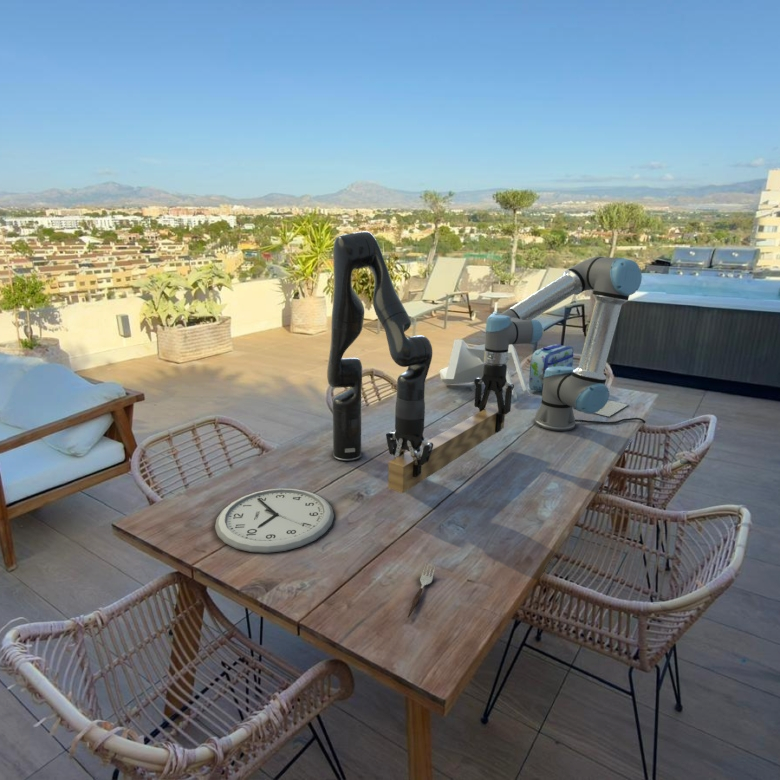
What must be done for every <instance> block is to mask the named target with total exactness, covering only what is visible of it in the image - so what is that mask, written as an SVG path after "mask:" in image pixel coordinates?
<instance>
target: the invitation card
mask: <svg viewBox="0 0 780 780" xmlns="http://www.w3.org/2000/svg"><path fill="white" fill-rule="evenodd" d="M628 406H629V404H627V403H623V402H618V401H614V400H609V399H608V401H607V403H606V405H605V406H604V407H603V408H602V409H600V410H599V411H598V412H596V413H595V414H596V415H600V416H604V417H608V418H609V417H611V416H613V415H614V414H616V413H617V412H619V411H621V410H623V409H624V408H626V407H628Z"/></svg>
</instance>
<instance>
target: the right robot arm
mask: <svg viewBox="0 0 780 780" xmlns="http://www.w3.org/2000/svg"><path fill="white" fill-rule="evenodd" d="M642 274H643V273H642V269H641V268H640V266H639V264H638V262H636V261H634V260H633V259H630V258H629V259H628V258H624V257H608V256H594V257H591V258H588V259H585V260H582V261H580V262H579V263H577V264H575V265H573V266H572V267H570V268H568V269H567V270H565V271H564V272H563V273H562V276H560V277H559V278H557V279H556V280H554V281H552V282H550V283H549V284H547V285H546V286H544V287H542V288H541V289H539V290H537V291H535V292H534V293H533V294H531V295H530V296H528V297H526V298H525V299H523V300H521V301H519V302H518V303H516V304H515V305H513V306H511V307H510V308H508V309H507V310H505V311H503V312H496V313H493V312H492V313H491V314H490V315H489V316H488V317H487V319H486V325H485V337H484V339H485V340H484V344H485V353H484V362H485V363H484V367H483V376H482V378H477V379H475V380H474V381H475V383H474V386H475V390H474V403H473V404H474V405H473V406H474V407H475V408H478V410H479V411H478V413H479V412H481V411H482V410H484V409H486V408H487V404H488V401H489V398H490V394H491V392H492V391H493V392H494V395H495V399H496V405H497V406H498V411H499V413H498V414H496V427H495V432H496V433H495V434H498V433H499V432H501V431H502V429H501V423H503V422H504V423H505V420H504V414H505V415H507V414H509V413H511V409H512V397H513V395H512V390H513V388H515V385H514V383H513V384H509V383H508V382H507V380H506V372H507V365H508V361H509V360H508V348H509V345H510V344H512V345H521V344H523V345H524V344H529V345H530V344H534V343H538V342H540V341H541V339H542V337H543V335H544V333H543V332H544V328H543V327H544V326H543V325H542V323H541V322H540V321H539V320H536V319H535V318H537V317H538V316H540V315H542V314H544V313H545V312H547V311H548V310H550V309H551V308H554V307H555V306H556V305H559V304H560V303H561V302H563V301H565V300H566V299H568V298H570V297H572V296H573V295H575V296H577V295H580V294H582V293H583V292H586V291H593V292H592V297H593V299H594V301H595V302H594V306H593V309H592V312H591V317H590V321H589V325H588V328H587V332H586V336H585V340H584V344H583V347H582V352H581V355H580V359H579V363H578V366H577V367H574V366H572V367H566V366H556V367H549V368H547V369H546V370H545V374H544V380H543V391H542V392H541V402H540V405H539V407H538V410H537V411H536V413H535V417H534V424H535V425H536V426H537V427H539V428H542V429H544V430H549V431H556V432H567V431H572V430H574V429H575V428H576V422H577V423H588V424H589V423H591V424H604V425H605V424H607V425H612V424H619V423H621V422H625V421H641V422H643V423H647V422H646V421H645V420H644V419H643V418H641V417H630V418H629V417H628V418H622V419H619V420H616V421H601V420H585V419H576V418H575V417H576V416H575V413H574V409H575V410H577V411H578V412H581V413H585V414H588V415H590V414H591V415H593V414H596V412H598V411H599V410H600V409H602V408H603V407H604V406H605V405H606V403H607V401H608V400H609V398H610V390H609V387H607V385H606V382H607V376H606V375H605V372H604V371H605V369H606V364H607V360H608V357H609V354H610V351H611V346H612V342H613V338H614V335H615V332H616V327H617V324H618V321H619V318H620V317H619V316H620V313H621V309H622V306H623V305H624V304H626V303H628V302H629V299H630V296H632V295H634V294H636V291H638V290H639V288H640V287H641V284H642V281H643V280H642V278H643V275H642ZM507 360H508V361H507ZM506 363H507V365H506ZM483 385H484V389H483ZM504 387H505V388H504ZM503 388H504V389H505V394H503V393H504V390H503ZM482 393H483V394H482Z"/></svg>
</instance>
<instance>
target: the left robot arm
mask: <svg viewBox="0 0 780 780" xmlns="http://www.w3.org/2000/svg"><path fill="white" fill-rule="evenodd" d="M332 261H333V263H332V264H333V266H332V267H333V299H332V308H331V309H332V310H331V329H330V346H329V352H328V353H329V354H328V360H327V369H326V380H327V383H328V385H329V386H330V387H331V388H334V389H335V388H337V389H339V388H340V389H341V388H348V389H347V390H346V391H344V392H341V393H340V394H338V395H335V396H334V398H333V399H332V451H333V452H332V457H333V458H334V459H335V460H337V461H340V462H341V461H342V462H353V461H356V460H359V459H360V458H361V457H362V389H363V388H362V387H363V364H362V361H361V359H360V358H359V357H343V356H344V354H345V353H346V351H347V350H348V349H349V347H351V345H352V344H353V343H354V342H355V341H357V339H358V337H359V336H360V335H361V333H362V331H363V327H364V322H365V321H364V320H365V306H364V303H363V302H362V300H361V298H360V297H359V295H358V294H357V292H356V290H355V289H354V287H353V284H352V275H353V271H355V270H360V269H365V268H368V269H369V271H370V272H371V275H372V276H373V280H374V281H373V282H374V283H373V284H374V286H373V297H372V305H373V309H374V313H375V314H376V317H377V318H378V320H379V322H380V324H381V326H382V328H383V329H384V332H385V336H386V337H385V338H386V341H387V346H388V350H389V354H390V357H391V359H392V360H393V362H394V363H395V364H396V365H398V366H399V367H402V368H407V369H406V370H405V371H404V372H403V373H401V374H400V375H398V377H397V380H396V401H395V415H394V423H395V424H394V430H395V431H394V430H391V431H389V432H387V433H386V434H385V438H386V442H387V448H388V453H389V455H391V456H392V455H393V456H394V459H395V458H397V457H399V456H401V455H402V454H404V453H406V452H405V451H407V452H408V451H409V452H410V454H411V457H413V461H414V464H413V477H415V478H416V477H418V476H419V475H420V474H421V465H423V464H425V463H426V462H428V461H429V458H430V455H431V451H432V448H433V443H432V442H430V443H428V442H426V441H427V440H425V438H424V431H425V414H426V411H425V410H426V402H425V390H426V389H425V388H426V387H425V385H426V384H425V383H426V380H427V376H428V374H429V370H430V367H431V363H432V360H433V345H432V343H431V341H430V339H429V338H428V337H426V336H425V335H413V336H408V337H407V335H406V334H405V333H406V332H407V331H408V330H409V329H410V327H411V326H412V320H411V318H410V316H409V314H408V311H407V310H406V309H405V306H404V305H403V303H402V301H401V298H400V297H399V295H398V293H397V291H396V289H395V286H394V284H393V281H392V278H391V276H390V272H389V269H388V267H387V264H386V261H385V259H384V256H383V253H382V250H381V247H380V245H379V243H378V241H377V239H376V238H375V236H374V235H373V234H372V233H371V232H369V231H357V232H350V233H346V234H341V235H338V236H337V237H336V238H335V240H334V243H333V249H332ZM421 445H422V446H423V447H422V450H423V453H422V450H421ZM415 451H416V452H415ZM421 453H422V455H421Z"/></svg>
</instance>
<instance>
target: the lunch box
mask: <svg viewBox="0 0 780 780" xmlns="http://www.w3.org/2000/svg"><path fill="white" fill-rule="evenodd" d="M530 359H531V360H530V366H529V377H528V379H529V380H528V387H529V390H531V391H536V392H541V393H542V391H543V380H544V374H545V370H546V369H547V368H549V367H556V366H566V367H573V363H574V347H572V346H568V345H562V344H551V345H547V346H545V347H541V348H539V349H536V350H534V352H533V353H532V355H531V358H530Z"/></svg>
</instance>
